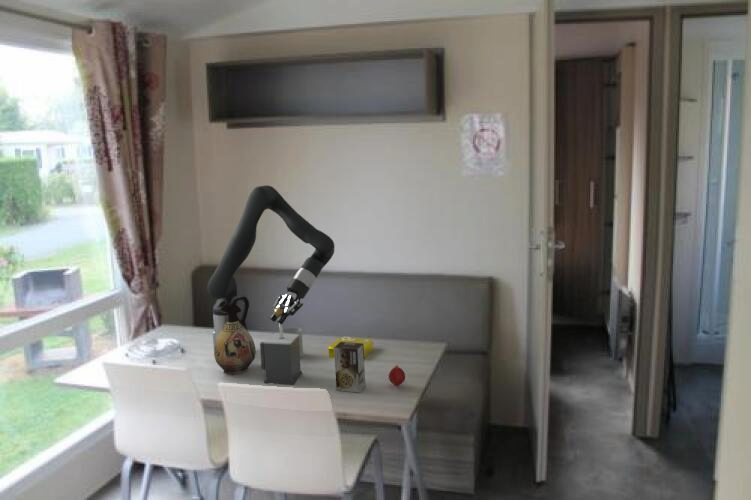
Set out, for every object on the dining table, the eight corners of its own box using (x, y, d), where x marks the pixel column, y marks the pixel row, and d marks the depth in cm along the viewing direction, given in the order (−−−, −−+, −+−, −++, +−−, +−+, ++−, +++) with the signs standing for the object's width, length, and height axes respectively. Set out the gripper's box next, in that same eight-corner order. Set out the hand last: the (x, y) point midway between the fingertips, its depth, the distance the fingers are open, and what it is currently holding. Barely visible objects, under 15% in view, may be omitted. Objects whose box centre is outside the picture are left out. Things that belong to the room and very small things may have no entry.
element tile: (327, 357, 265) (326, 346, 264) (341, 345, 279) (341, 335, 278) (361, 361, 260) (361, 349, 259) (374, 349, 274) (374, 338, 273)
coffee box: (365, 386, 234) (364, 343, 231) (359, 393, 228) (358, 349, 225) (342, 383, 237) (340, 341, 234) (335, 390, 231) (333, 346, 228)
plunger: (269, 360, 239) (266, 311, 235) (276, 353, 246) (273, 305, 243) (289, 361, 237) (286, 311, 234) (295, 354, 245) (293, 305, 241)
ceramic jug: (221, 381, 241) (215, 303, 236) (211, 368, 255) (205, 294, 249) (266, 372, 249) (261, 296, 244) (253, 360, 263) (249, 288, 257)
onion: (388, 383, 235) (387, 362, 234) (404, 382, 236) (403, 361, 234) (390, 390, 230) (389, 368, 228) (406, 389, 230) (405, 367, 229)
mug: (307, 354, 268) (306, 328, 266) (295, 361, 261) (294, 334, 259) (283, 350, 274) (282, 325, 272) (271, 356, 267) (269, 330, 265)
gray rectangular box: (257, 382, 240) (255, 342, 237) (268, 371, 250) (265, 332, 247) (293, 384, 237) (290, 343, 234) (302, 373, 247) (300, 333, 245)
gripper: (284, 274, 246) (258, 312, 241) (306, 280, 236) (280, 320, 230) (296, 285, 251) (271, 323, 245) (319, 291, 240) (293, 331, 235)
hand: (275, 321), depth 238 cm, fingers closed on plunger, 4 cm apart
